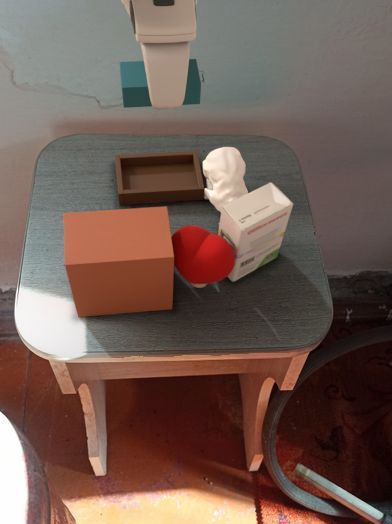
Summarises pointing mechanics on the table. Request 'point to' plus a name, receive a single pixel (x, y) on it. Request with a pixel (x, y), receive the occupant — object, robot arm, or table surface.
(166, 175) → the brown rectangular tray
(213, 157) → the white irregular lump
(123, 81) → the teal rectangular block
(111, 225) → the orange cardboard box
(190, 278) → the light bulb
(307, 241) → the table surface
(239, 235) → the ink box
